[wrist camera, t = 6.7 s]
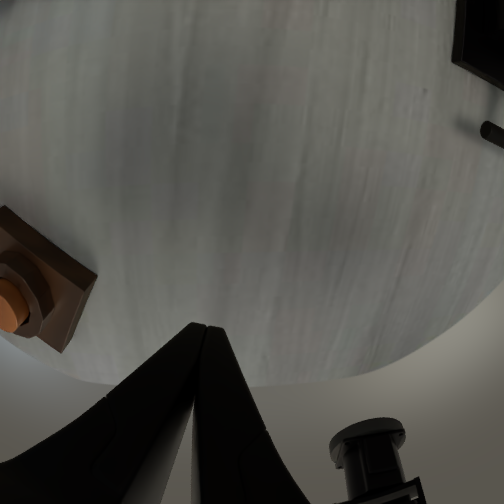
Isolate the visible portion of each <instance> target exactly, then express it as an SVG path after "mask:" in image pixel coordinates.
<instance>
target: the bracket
mask: <svg viewBox="0 0 504 504" xmlns="http://www.w3.org/2000/svg"><path fill="white" fill-rule="evenodd" d="M452 62H453V63H455V64H457V65H459V66H460V67H462V68H464V69H466V70H468V71H470V72H472V73H474V74H476V75H477V76H479V77H481V78H483V79H485V80H486V81H488V82H490V83H491V84H493V85H495V86H496V87H498V88H500V89H501V90H503V91H504V0H457V8H456V24H455V36H454V46H453V55H452Z"/></svg>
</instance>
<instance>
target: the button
mask: <svg viewBox="0 0 504 504" xmlns="http://www.w3.org/2000/svg"><path fill="white" fill-rule="evenodd" d="M28 314H29V307H28V304H27V301H26V299H25V298H24V296H23V295H22V293H21V292H20V290H19V289H18V287H16V286H15V285H14V284H13V283H12V282H10V281H9V280H8V279H5V278H2V279H0V328H1V329H2V330H4V331H6V332H14V331H16V330H17V328H18V327H19V326H20V325H21V324H22V323H23V321H24V320H25V319H26V318H27V317H28Z"/></svg>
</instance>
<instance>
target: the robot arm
mask: <svg viewBox="0 0 504 504" xmlns="http://www.w3.org/2000/svg"><path fill="white" fill-rule="evenodd" d="M193 404H194V409H193V431H192V466H191V469H192V470H191V504H310V502H309V501H308V500H307V498H306V497H305V495H304V494H303V492H302V491H301V489H300V488H299V487H298V485H297V484H296V482H295V481H294V479H293V478H292V476H291V474H290V473H289V471H288V470H287V468H286V466H285V465H284V463H283V461H282V459H281V457H280V456H279V454H278V452H277V450H276V448H275V446H274V444H273V442H272V439H271V437H270V435H269V433H268V431H267V430H266V427H265V424H264V422H263V420H262V418H261V415H260V413H259V411H258V409H257V406H256V404H255V402H254V399H253V397H252V395H251V393H250V390H249V388H248V385H247V383H246V381H245V378H244V376H243V374H242V371H241V369H240V367H239V364H238V362H237V359H236V357H235V354H234V352H233V350H232V347H231V345H230V342H229V340H228V337H227V335H226V332H225V330H224V329H223V328H221V327H215V326H208V327H207V326H206V325H205V324H200V323H195V322H191V323H189V324H188V325H187V326H186V327H185V328H183V329H182V330H181V331H180V332H179V333H178V334H177V335H175V336H174V337H173V338H172V339H171V340H170V341H169V342H167V343H166V344H165V345H164V346H163V347H162V348H160V349H159V350H158V351H157V352H156V353H155V354H153V355H152V356H151V357H150V358H149V359H148V360H146V361H145V362H144V363H143V364H142V365H141V366H139V367H138V368H137V369H136V370H135V371H134V372H132V373H131V374H130V375H129V376H128V377H127V378H125V379H124V380H123V381H122V382H121V383H120V384H118V385H117V386H116V387H115V388H114V389H113V390H112V391H110V392H109V393H108V394H107V395H106V397H103V398H102V399H101V400H99V401H98V402H97V403H96V404H95V405H94V406H92V407H91V408H90V409H89V410H87V411H86V412H85V413H83V414H82V415H81V416H80V417H78V418H77V419H76V420H74V421H73V422H71V423H70V424H68V425H67V426H66V427H64V428H62V429H61V430H59V431H58V432H56V433H55V434H53V435H51V436H50V437H48V438H46V439H45V440H43V441H41V442H40V443H38V444H37V445H35V446H33V447H32V448H30V449H29V450H27V451H25V452H23V453H22V454H20V455H18V456H16V457H15V458H13V459H10V460H8V461H5V462H2V463H0V504H160V503H161V500H162V497H163V494H164V491H165V488H166V485H167V482H168V479H169V476H170V473H171V470H172V467H173V464H174V461H175V458H176V455H177V452H178V449H179V446H180V444H181V441H182V438H183V435H184V432H185V429H186V426H187V423H188V420H189V417H190V414H191V411H192V407H193ZM404 435H405V430H404V429H397V430H392V431H387V432H381V433H376V434H370V435H363V436H357V437H349V438H345V439H343V440H342V442H341V446H340V450H339V453H338V457H337V461H336V464H335V466H336V469H344V472H345V479H346V486H347V492H348V499H349V501H345V502H342V503H334V504H426V500H425V496H424V492H423V489H422V486H421V482H420V478H419V477H416V478H414V479H413V480H411V481H408V482H406V480H405V476H404V472H403V468H402V464H401V460H400V457H399V453H398V447H399V445H400V443H401V441H402V439H403V437H404ZM415 496H418V497H419V498H417V499H414V500H411V498H413V497H415Z"/></svg>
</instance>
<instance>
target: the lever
mask: <svg viewBox="0 0 504 504" xmlns="http://www.w3.org/2000/svg"><path fill="white" fill-rule="evenodd" d="M480 134H481V137H482V138H483V139H485V140H487V141H489V142H491V143H493V144H495V145H497V146H499V147H501V148H503V149H504V129H502V128H501V127H499V126H497V125H495V124H493V123H492V122H490V121H485V122H483V124H482V125H481V128H480Z"/></svg>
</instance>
